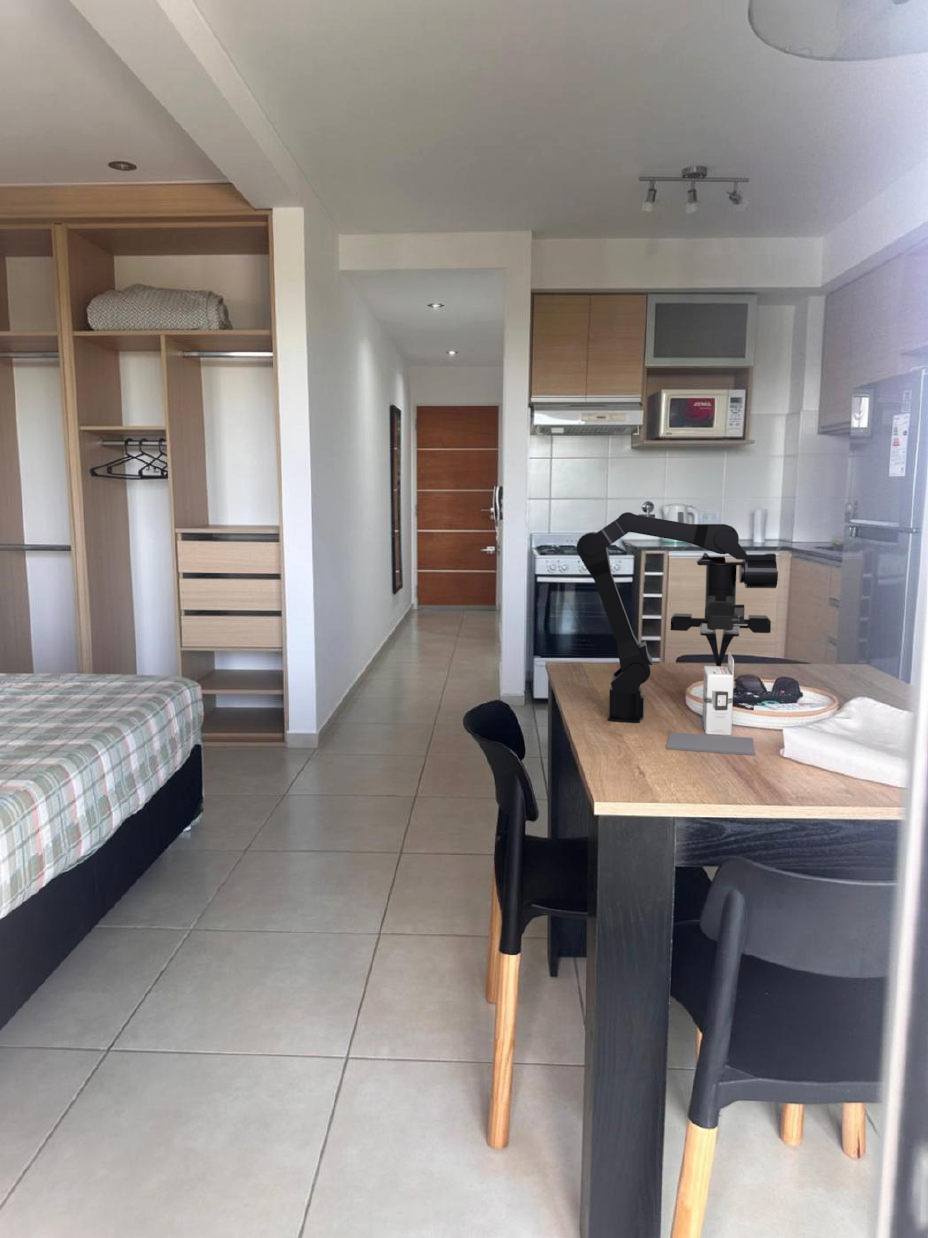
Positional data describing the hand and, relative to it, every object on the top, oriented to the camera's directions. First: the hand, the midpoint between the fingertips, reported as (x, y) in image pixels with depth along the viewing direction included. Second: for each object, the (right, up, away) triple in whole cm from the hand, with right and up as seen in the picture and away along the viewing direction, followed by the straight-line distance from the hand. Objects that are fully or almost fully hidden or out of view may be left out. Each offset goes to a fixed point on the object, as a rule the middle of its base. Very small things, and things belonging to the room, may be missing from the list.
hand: (718, 665), depth 166 cm
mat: (-6, -14, -14) cm, 20 cm away
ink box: (-2, -12, -4) cm, 13 cm away
